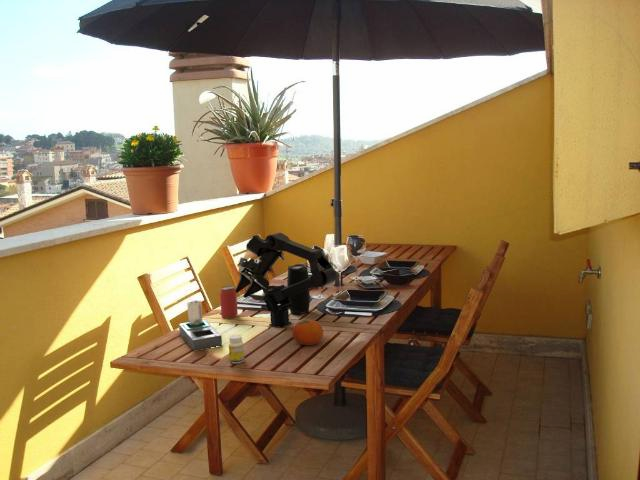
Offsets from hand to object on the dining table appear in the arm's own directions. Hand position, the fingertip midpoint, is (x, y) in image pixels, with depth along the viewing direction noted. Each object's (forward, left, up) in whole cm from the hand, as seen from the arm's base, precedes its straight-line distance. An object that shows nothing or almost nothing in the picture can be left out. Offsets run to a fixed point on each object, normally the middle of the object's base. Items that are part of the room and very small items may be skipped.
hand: (239, 294), depth 237 cm
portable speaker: (-7, -28, -14) cm, 32 cm away
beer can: (+16, -11, -14) cm, 24 cm away
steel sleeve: (+10, +14, -14) cm, 22 cm away
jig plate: (+6, +17, -14) cm, 22 cm away
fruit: (-32, +2, -14) cm, 35 cm away
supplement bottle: (-21, +27, -14) cm, 37 cm away
